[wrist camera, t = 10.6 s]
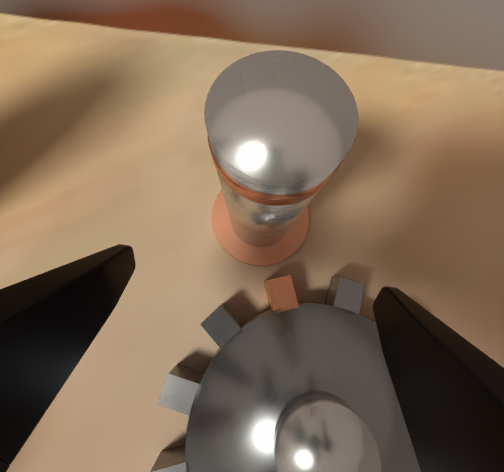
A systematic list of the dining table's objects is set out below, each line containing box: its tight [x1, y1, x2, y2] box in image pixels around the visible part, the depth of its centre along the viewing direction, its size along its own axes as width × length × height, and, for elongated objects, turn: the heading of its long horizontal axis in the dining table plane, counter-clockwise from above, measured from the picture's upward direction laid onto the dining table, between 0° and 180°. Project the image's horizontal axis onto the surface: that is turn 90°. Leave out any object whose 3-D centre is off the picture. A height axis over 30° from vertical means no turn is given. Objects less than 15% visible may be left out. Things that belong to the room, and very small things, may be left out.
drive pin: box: [204, 50, 358, 247], centre depth 11 cm, size 4×4×10 cm
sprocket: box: [151, 275, 421, 472], centre depth 12 cm, size 18×18×3 cm
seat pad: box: [212, 190, 309, 265], centre depth 16 cm, size 7×7×1 cm
